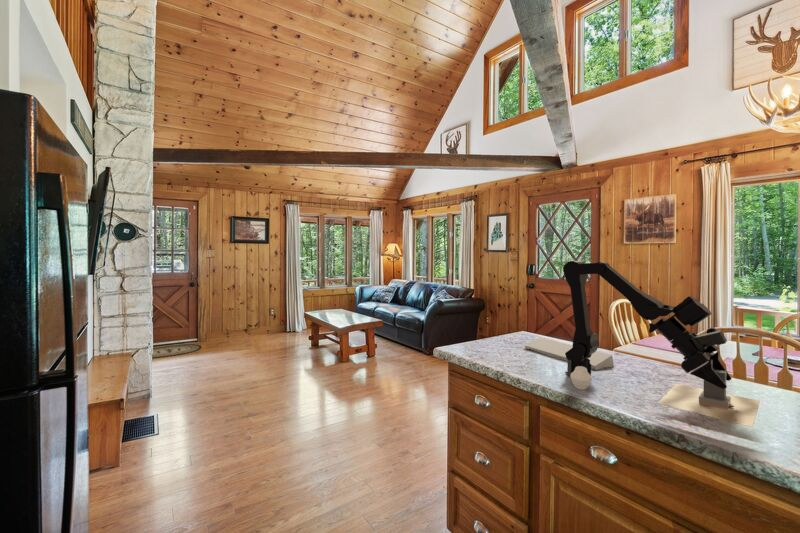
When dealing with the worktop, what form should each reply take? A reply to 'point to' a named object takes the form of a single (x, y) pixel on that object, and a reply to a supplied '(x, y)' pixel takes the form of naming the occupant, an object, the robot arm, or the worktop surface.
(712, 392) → the grey stepped block
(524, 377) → the worktop surface
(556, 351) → the decorative molding
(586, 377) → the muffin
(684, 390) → the birch board
